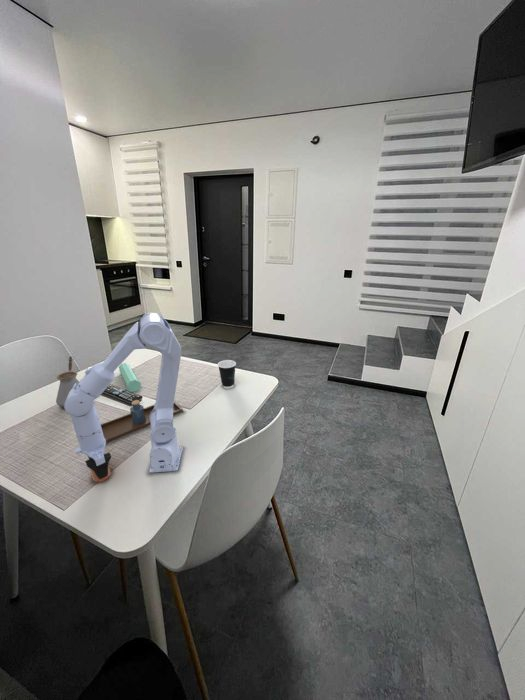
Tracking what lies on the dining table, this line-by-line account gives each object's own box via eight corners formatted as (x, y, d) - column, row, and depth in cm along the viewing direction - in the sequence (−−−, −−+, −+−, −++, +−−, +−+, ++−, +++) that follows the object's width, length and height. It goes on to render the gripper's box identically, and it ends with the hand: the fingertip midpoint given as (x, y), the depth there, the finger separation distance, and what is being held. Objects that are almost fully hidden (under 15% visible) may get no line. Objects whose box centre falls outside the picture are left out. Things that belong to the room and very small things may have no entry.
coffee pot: (90, 407, 112) (80, 373, 107) (55, 414, 108) (43, 379, 102) (94, 383, 130) (86, 353, 125) (64, 389, 126) (55, 358, 120)
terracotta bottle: (107, 481, 78) (100, 458, 75) (90, 482, 78) (83, 460, 75) (113, 469, 83) (107, 447, 80) (97, 470, 82) (90, 448, 79)
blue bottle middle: (143, 424, 101) (140, 405, 98) (131, 425, 101) (126, 405, 98) (147, 416, 105) (143, 398, 102) (134, 417, 105) (131, 399, 102)
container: (118, 360, 139) (128, 379, 120) (131, 361, 143) (142, 380, 124) (115, 371, 140) (125, 392, 121) (128, 372, 144) (139, 393, 124)
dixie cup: (235, 390, 124) (234, 367, 120) (217, 389, 125) (215, 367, 120) (238, 381, 131) (237, 360, 127) (221, 381, 132) (220, 359, 128)
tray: (171, 401, 116) (171, 398, 115) (183, 412, 109) (182, 409, 108) (91, 432, 98) (90, 428, 97) (98, 447, 91) (97, 443, 90)
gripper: (66, 423, 77) (78, 462, 82) (76, 451, 67) (90, 494, 72) (95, 413, 81) (105, 451, 86) (109, 438, 71) (119, 479, 76)
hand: (100, 469), depth 79 cm, fingers open, 6 cm apart
